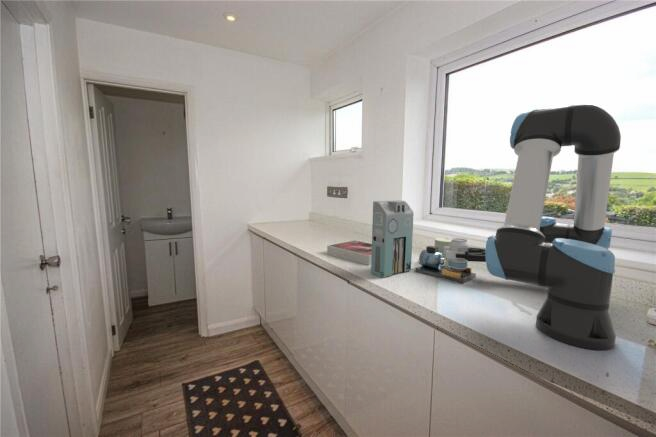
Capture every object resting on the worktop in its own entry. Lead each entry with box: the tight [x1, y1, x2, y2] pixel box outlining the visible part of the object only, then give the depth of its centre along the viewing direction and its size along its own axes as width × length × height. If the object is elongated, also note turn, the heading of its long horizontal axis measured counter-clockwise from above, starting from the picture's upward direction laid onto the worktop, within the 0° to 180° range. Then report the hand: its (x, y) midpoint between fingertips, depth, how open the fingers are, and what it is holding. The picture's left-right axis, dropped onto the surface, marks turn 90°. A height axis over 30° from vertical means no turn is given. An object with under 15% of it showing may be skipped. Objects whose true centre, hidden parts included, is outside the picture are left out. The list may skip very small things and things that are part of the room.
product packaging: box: [326, 239, 372, 266], centre depth 148 cm, size 22×28×5 cm
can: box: [434, 237, 453, 267], centre depth 134 cm, size 9×9×12 cm
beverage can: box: [447, 237, 469, 271], centre depth 114 cm, size 7×7×12 cm
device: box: [370, 199, 415, 279], centre depth 119 cm, size 16×8×30 cm, turn 126°
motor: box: [414, 245, 477, 285], centre depth 118 cm, size 12×20×10 cm, turn 41°
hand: (445, 252), depth 115 cm, fingers open, 7 cm apart
